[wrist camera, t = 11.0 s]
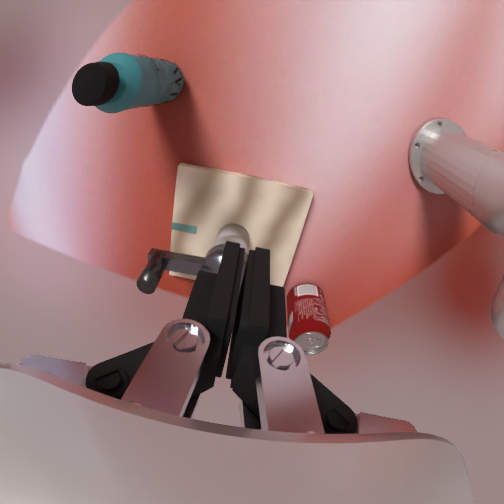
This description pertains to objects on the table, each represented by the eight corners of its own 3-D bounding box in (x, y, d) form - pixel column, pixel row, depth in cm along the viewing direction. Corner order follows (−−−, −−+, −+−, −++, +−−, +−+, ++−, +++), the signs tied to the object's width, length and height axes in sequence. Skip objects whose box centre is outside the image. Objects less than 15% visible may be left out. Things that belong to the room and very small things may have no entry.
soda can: (292, 277, 51) (296, 327, 41) (327, 284, 51) (339, 332, 41) (282, 305, 54) (284, 354, 44) (315, 310, 55) (323, 359, 45)
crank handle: (254, 248, 38) (251, 283, 31) (247, 286, 41) (243, 323, 35) (153, 231, 37) (132, 262, 31) (154, 269, 41) (136, 303, 34)
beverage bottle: (177, 109, 37) (105, 132, 20) (138, 94, 35) (51, 110, 18) (196, 69, 33) (134, 58, 16) (156, 55, 32) (73, 42, 15)
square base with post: (312, 189, 42) (321, 213, 35) (279, 291, 53) (280, 325, 45) (181, 162, 41) (161, 180, 34) (171, 269, 51) (157, 300, 44)
